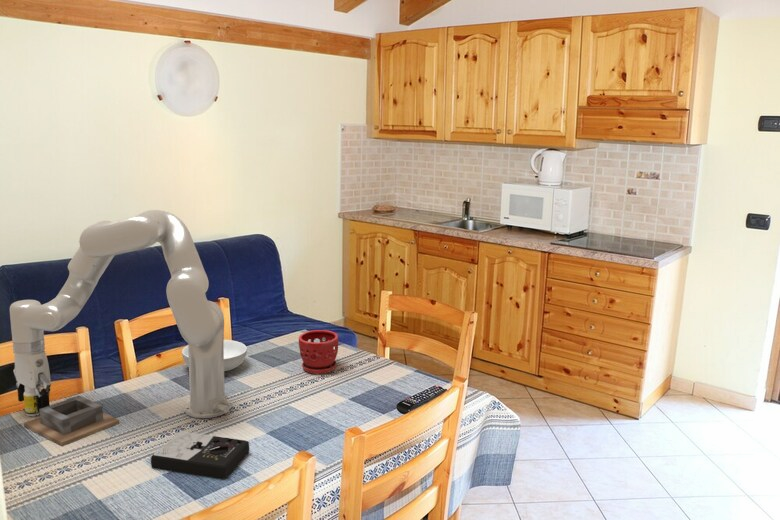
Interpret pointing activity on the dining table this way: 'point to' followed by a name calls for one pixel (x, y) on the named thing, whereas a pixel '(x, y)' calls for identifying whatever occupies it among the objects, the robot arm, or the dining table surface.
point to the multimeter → (201, 455)
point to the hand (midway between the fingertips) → (34, 404)
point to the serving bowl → (226, 354)
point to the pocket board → (72, 434)
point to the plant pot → (318, 351)
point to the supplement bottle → (31, 401)
